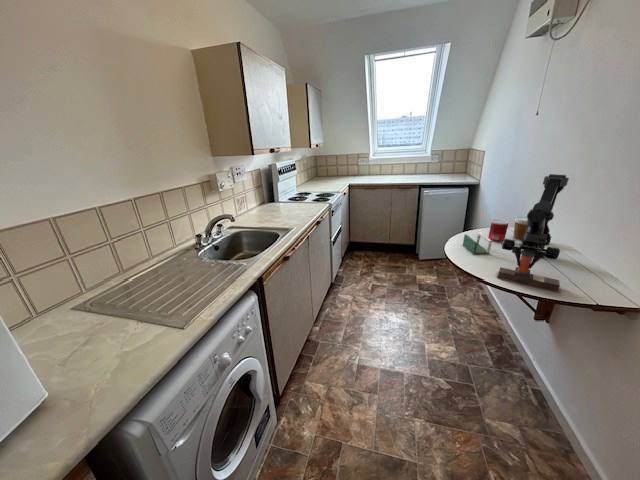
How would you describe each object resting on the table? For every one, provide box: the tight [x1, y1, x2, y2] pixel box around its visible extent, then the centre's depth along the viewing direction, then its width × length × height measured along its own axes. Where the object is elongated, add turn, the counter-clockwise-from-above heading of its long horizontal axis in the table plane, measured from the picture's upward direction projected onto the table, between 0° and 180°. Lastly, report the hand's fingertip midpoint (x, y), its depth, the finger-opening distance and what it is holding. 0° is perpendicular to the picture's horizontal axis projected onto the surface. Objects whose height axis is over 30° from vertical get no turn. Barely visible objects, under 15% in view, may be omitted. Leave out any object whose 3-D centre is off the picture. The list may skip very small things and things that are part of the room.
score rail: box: [497, 267, 561, 293], centre depth 111 cm, size 20×5×3 cm, turn 53°
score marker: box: [514, 250, 535, 279], centre depth 109 cm, size 5×6×10 cm
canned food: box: [487, 219, 509, 243], centre depth 151 cm, size 8×8×11 cm
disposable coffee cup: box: [513, 216, 528, 241], centre depth 151 cm, size 10×10×12 cm
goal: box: [462, 231, 493, 255], centre depth 141 cm, size 8×12×8 cm, turn 178°
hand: (523, 267), depth 109 cm, fingers closed on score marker, 3 cm apart
